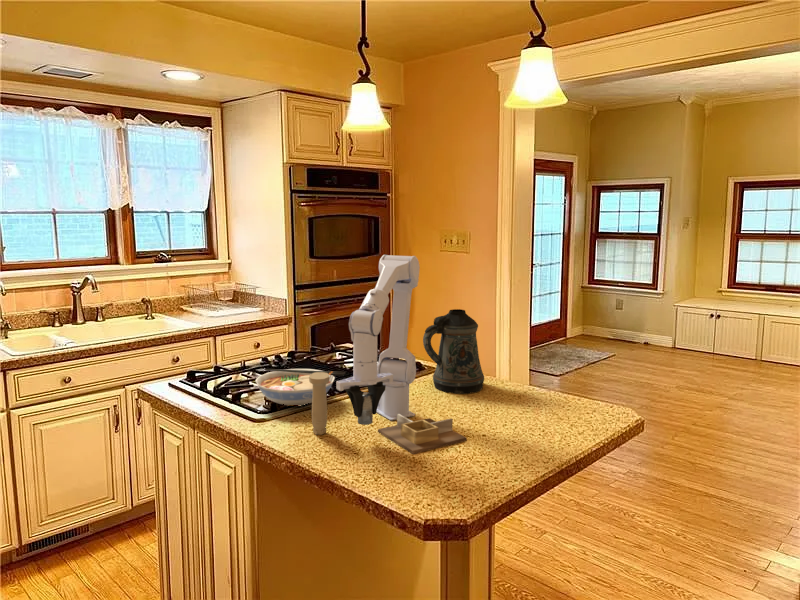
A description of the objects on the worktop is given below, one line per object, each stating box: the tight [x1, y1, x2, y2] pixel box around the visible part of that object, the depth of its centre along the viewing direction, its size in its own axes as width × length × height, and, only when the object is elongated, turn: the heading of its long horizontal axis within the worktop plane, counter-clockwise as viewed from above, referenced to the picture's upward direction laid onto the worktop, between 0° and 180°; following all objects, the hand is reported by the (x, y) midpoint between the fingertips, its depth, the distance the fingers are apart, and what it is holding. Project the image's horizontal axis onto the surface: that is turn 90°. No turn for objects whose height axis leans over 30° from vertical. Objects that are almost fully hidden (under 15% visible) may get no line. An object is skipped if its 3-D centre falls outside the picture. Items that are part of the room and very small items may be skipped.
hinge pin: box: [357, 391, 374, 426], centre depth 144 cm, size 4×4×7 cm
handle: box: [309, 372, 329, 436], centre depth 150 cm, size 5×6×15 cm
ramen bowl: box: [255, 368, 346, 406], centre depth 173 cm, size 25×23×8 cm
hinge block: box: [377, 414, 468, 455], centre depth 149 cm, size 16×16×4 cm
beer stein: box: [422, 308, 485, 395], centre depth 190 cm, size 16×19×25 cm
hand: (365, 414), depth 145 cm, fingers closed on hinge pin, 4 cm apart
